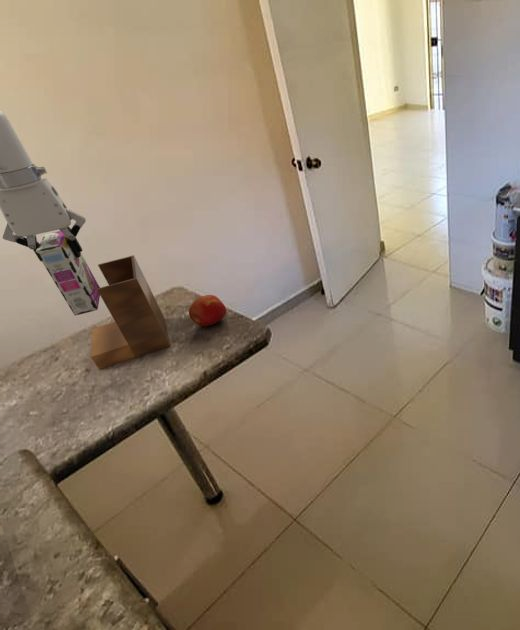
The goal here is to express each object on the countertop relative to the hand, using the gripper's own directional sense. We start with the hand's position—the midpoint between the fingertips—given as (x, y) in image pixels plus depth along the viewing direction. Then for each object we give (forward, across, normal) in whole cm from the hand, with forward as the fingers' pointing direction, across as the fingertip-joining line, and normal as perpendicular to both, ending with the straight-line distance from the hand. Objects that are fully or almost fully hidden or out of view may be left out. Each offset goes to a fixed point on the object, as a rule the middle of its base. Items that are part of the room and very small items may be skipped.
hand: (63, 258), depth 97 cm
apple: (+26, -23, +3) cm, 35 cm away
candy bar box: (+12, 0, 0) cm, 12 cm away
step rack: (+26, -4, 0) cm, 26 cm away
